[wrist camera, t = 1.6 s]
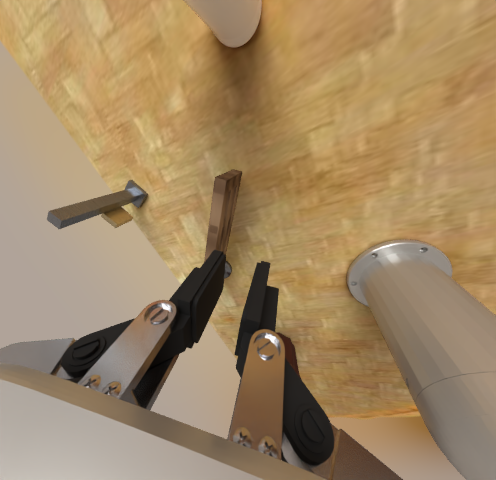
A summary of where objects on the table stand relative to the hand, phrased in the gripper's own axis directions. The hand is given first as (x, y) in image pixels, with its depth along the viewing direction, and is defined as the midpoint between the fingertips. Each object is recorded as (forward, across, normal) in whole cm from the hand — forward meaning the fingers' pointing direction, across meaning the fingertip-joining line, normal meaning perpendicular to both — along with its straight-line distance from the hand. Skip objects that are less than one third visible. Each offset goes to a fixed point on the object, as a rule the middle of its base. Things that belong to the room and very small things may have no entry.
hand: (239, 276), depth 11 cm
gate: (+16, +5, +5) cm, 17 cm away
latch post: (+17, +22, +4) cm, 28 cm away
